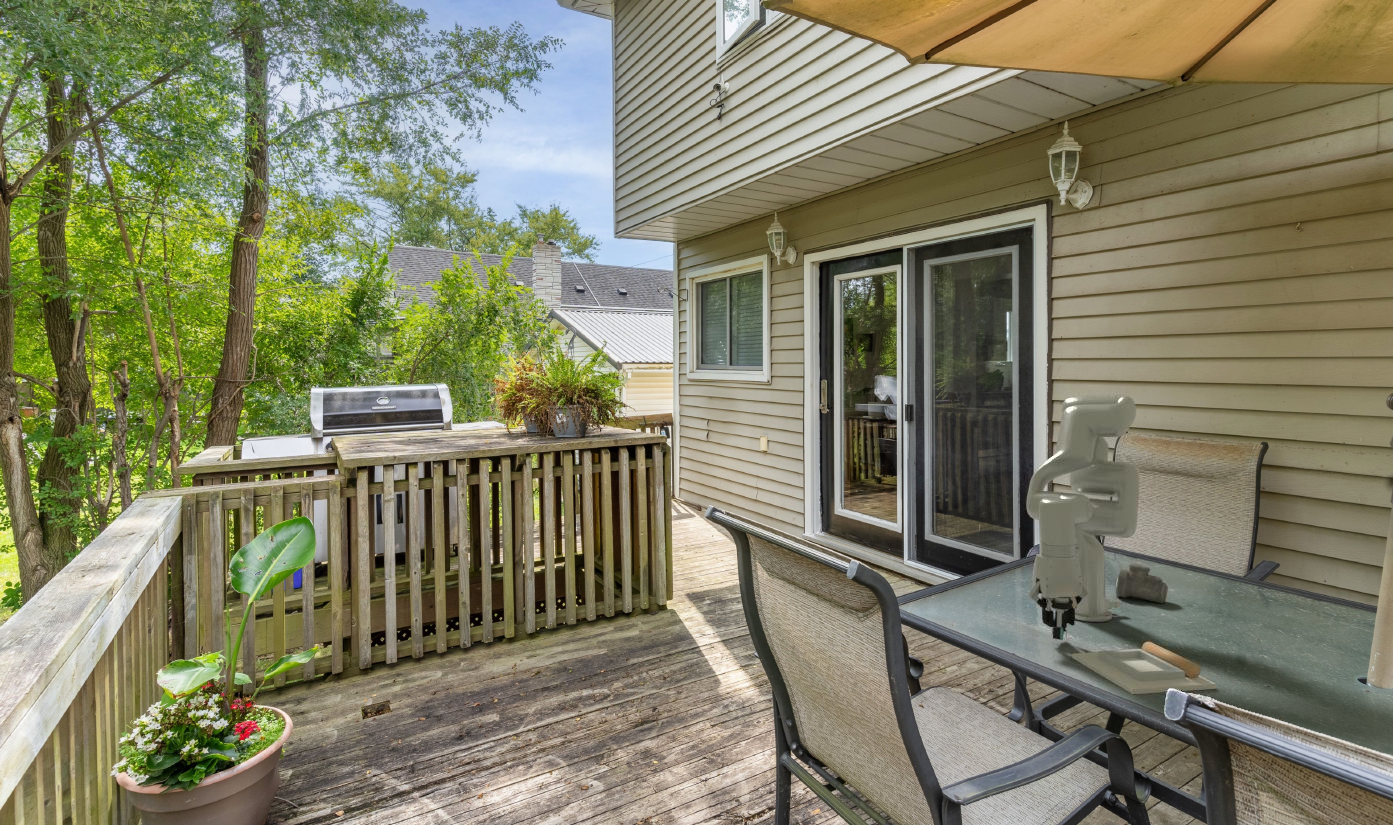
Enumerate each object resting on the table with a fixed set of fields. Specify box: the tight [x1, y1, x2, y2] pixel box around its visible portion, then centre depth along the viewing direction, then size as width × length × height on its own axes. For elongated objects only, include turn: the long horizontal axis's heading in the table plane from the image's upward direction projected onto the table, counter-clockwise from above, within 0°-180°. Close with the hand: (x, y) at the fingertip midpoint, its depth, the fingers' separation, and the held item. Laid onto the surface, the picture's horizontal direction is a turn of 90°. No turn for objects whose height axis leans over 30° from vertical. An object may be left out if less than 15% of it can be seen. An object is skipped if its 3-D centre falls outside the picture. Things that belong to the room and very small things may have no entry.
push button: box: [1051, 597, 1073, 641], centre depth 155 cm, size 7×5×10 cm
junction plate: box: [1071, 641, 1217, 695], centre depth 138 cm, size 18×18×4 cm
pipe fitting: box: [1115, 562, 1169, 604], centre depth 185 cm, size 12×8×10 cm
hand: (1058, 623), depth 155 cm, fingers closed on push button, 4 cm apart
